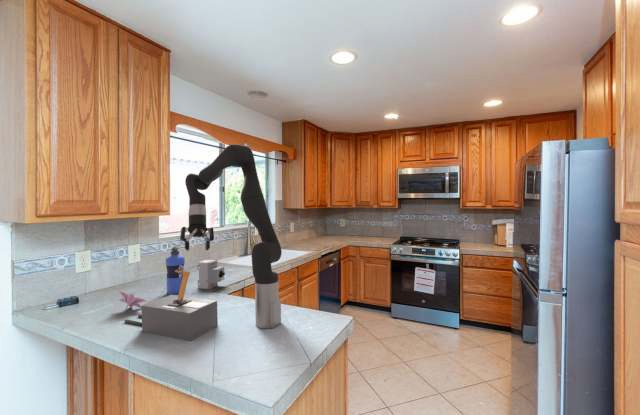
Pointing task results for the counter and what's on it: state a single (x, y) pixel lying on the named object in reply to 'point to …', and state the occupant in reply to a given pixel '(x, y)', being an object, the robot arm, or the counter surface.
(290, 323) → the counter surface
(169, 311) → the box
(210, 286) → the circuit breaker
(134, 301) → the lily
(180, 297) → the breaker lever
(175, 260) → the water bottle
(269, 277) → the robot arm
